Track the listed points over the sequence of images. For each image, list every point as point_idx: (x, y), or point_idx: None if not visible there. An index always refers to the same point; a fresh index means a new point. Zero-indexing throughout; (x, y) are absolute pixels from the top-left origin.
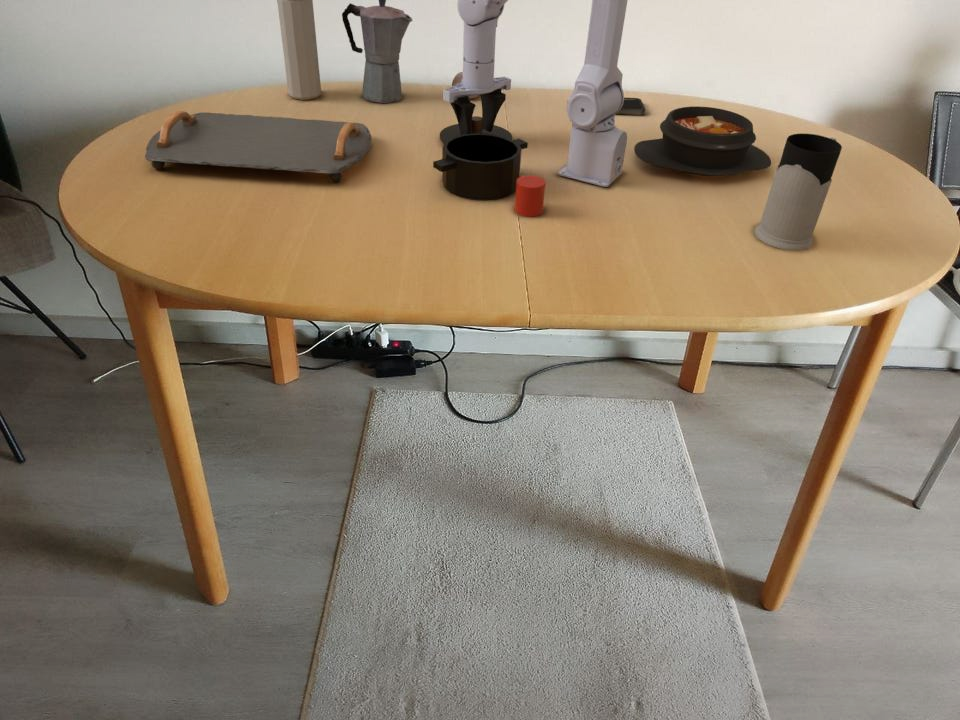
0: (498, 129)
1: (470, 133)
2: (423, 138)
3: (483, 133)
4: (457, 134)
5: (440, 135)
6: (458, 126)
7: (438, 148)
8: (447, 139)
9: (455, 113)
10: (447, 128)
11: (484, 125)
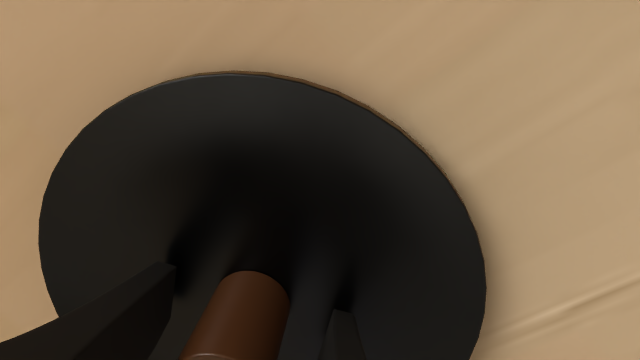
0: (429, 347)
1: (157, 341)
2: (36, 14)
3: (309, 317)
4: (177, 215)
5: (74, 146)
6: (292, 134)
7: (27, 190)
8: (73, 216)
9: (16, 341)
10: (200, 98)
11: (327, 341)
